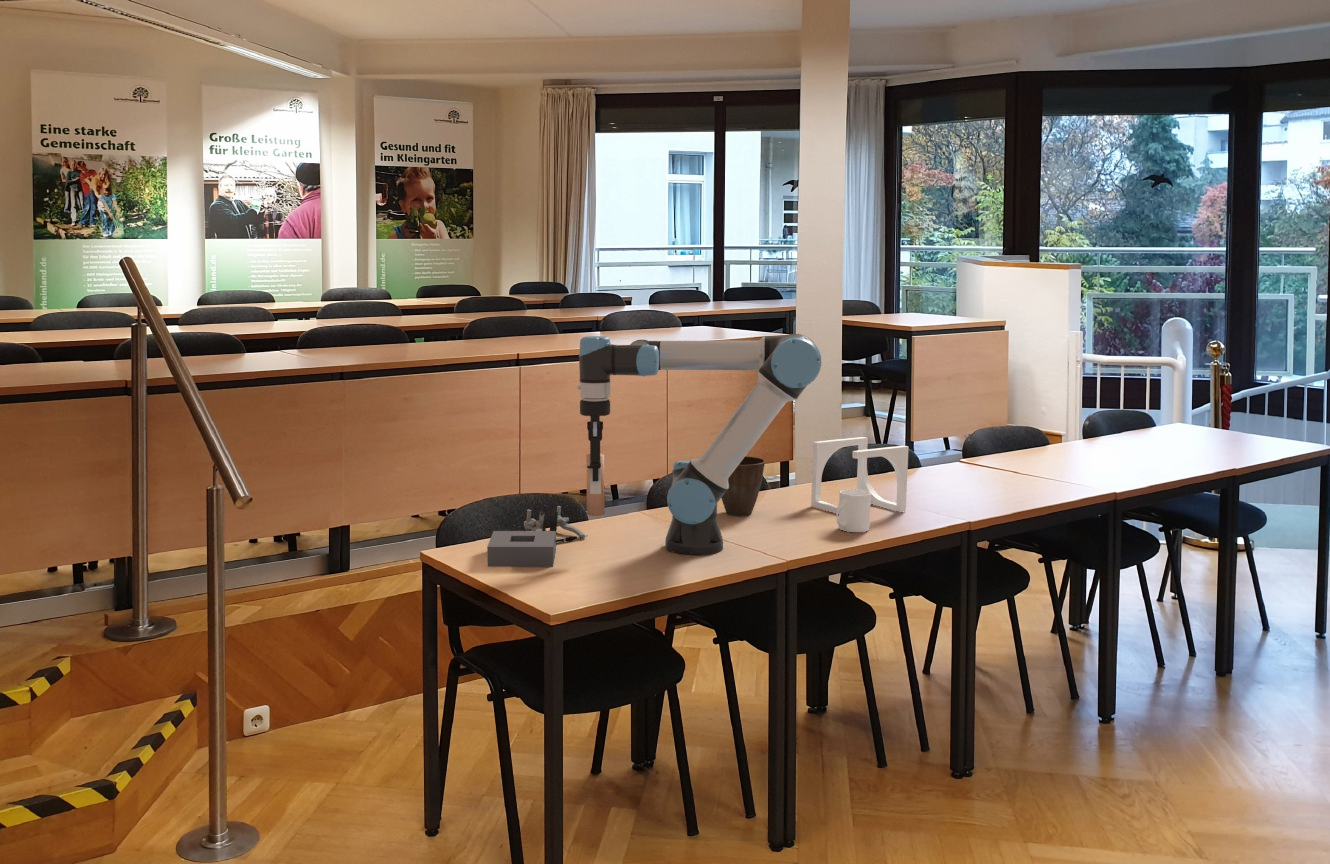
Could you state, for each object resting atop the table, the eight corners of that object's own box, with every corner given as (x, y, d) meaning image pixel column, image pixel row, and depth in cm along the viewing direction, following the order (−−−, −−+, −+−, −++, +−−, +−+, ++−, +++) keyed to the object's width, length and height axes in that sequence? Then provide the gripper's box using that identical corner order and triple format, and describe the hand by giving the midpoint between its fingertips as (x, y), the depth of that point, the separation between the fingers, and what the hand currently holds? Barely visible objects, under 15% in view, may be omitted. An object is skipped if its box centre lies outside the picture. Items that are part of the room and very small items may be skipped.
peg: (604, 511, 300) (604, 453, 297) (604, 515, 295) (604, 456, 293) (587, 511, 299) (586, 453, 297) (586, 515, 295) (586, 456, 293)
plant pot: (713, 518, 343) (714, 464, 341) (713, 507, 358) (714, 455, 356) (764, 519, 343) (766, 465, 340) (762, 508, 358) (763, 456, 355)
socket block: (555, 549, 307) (555, 530, 306) (553, 566, 291) (553, 546, 290) (493, 549, 306) (493, 530, 305) (487, 566, 290) (487, 546, 289)
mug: (823, 530, 331) (825, 493, 329) (851, 524, 338) (853, 487, 337) (847, 536, 324) (849, 498, 323) (875, 530, 332) (877, 492, 330)
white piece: (905, 512, 355) (908, 446, 352) (854, 519, 345) (857, 452, 342) (861, 499, 372) (863, 436, 369) (811, 506, 361) (813, 441, 358)
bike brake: (517, 531, 323) (553, 558, 307) (519, 507, 321) (555, 533, 305) (561, 525, 330) (598, 551, 315) (563, 502, 329) (600, 527, 313)
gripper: (580, 394, 301) (581, 484, 305) (578, 403, 284) (579, 499, 288) (610, 394, 302) (610, 484, 305) (610, 403, 284) (610, 498, 288)
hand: (595, 491), depth 296 cm, fingers closed on peg, 4 cm apart
